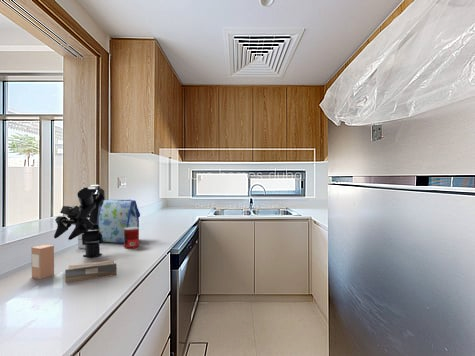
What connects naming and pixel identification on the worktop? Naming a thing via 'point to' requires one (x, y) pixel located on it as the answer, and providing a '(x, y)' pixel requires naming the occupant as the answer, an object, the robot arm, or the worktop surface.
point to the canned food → (131, 237)
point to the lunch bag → (117, 219)
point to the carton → (42, 261)
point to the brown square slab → (90, 271)
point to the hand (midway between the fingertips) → (61, 238)
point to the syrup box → (80, 242)
